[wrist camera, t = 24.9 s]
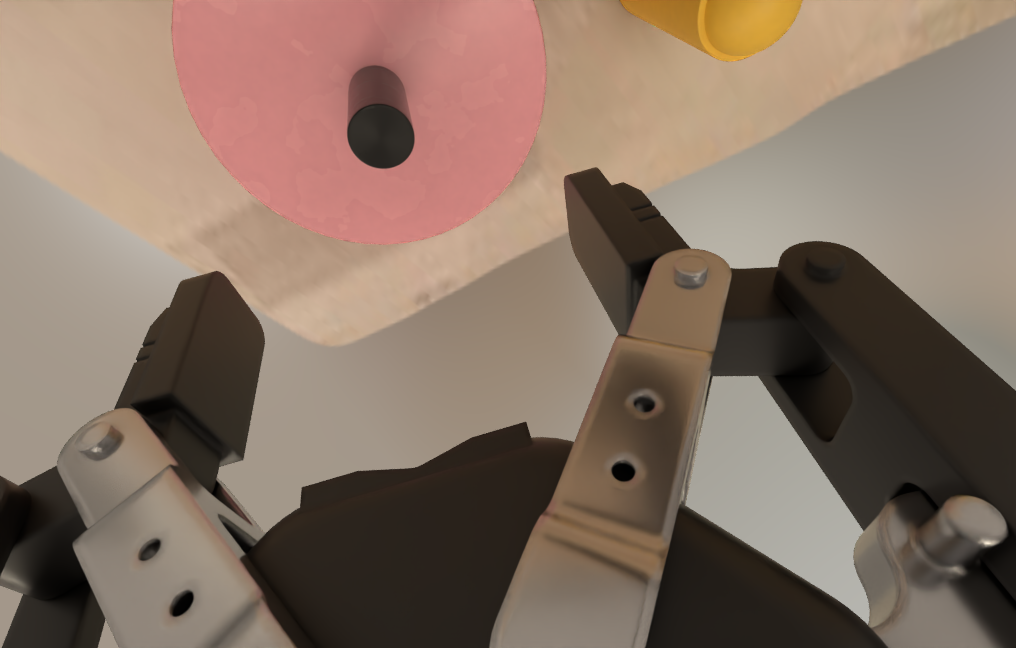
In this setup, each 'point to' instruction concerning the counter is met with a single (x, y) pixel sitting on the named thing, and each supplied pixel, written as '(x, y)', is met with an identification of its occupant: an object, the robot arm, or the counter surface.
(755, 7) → the yellow rounded cylinder
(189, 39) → the lid
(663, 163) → the counter surface
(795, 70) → the counter surface
